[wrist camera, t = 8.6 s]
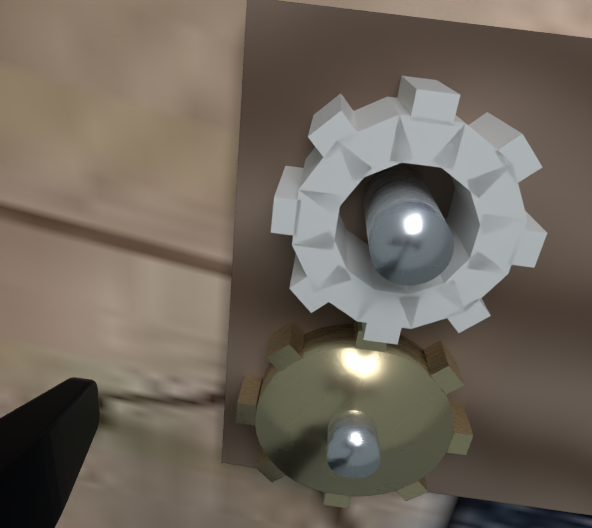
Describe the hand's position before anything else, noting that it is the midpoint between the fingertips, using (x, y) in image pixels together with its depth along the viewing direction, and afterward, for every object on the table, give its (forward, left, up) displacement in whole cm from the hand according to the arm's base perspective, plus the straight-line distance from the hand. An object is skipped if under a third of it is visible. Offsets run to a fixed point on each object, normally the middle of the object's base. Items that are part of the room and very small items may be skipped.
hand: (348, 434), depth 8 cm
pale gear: (+2, -1, -9) cm, 9 cm away
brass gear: (-7, -1, -9) cm, 11 cm away
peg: (+2, -1, -9) cm, 9 cm away
